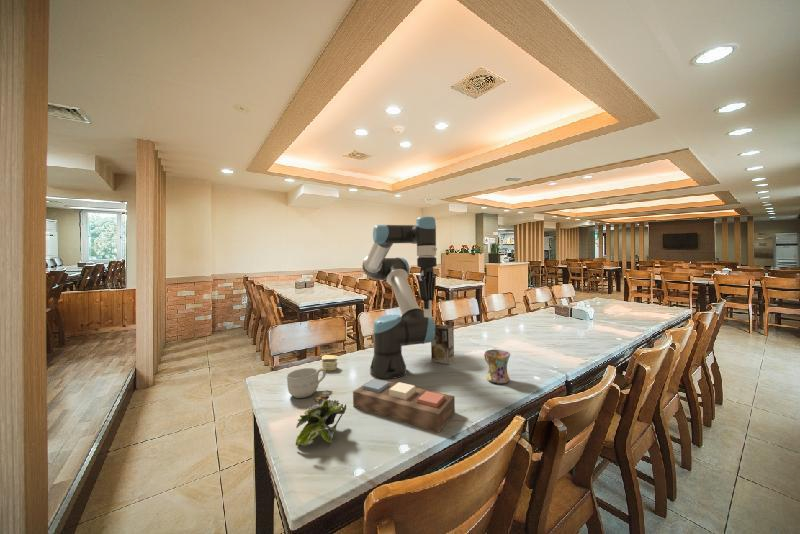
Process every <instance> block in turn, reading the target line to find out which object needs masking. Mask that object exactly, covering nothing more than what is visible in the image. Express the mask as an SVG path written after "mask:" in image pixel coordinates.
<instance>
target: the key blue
mask: <svg viewBox="0 0 800 534" xmlns="http://www.w3.org/2000/svg"><path fill="white" fill-rule="evenodd" d="M373 379H374V378H373ZM373 379H371V380H372V381H371V380H370V382H369V381H368V382H369V383H368V382H366V383H367V384H366V383H364V384H365V385H364V384H363V385H364V390H367V391H371V392H375V393H380V392H382V391H383V390H385V389H386V388H387V387H389V382H390V381H389V382H385V381H386V380H385V381H380V380H381V379H380V380H376V379H377V378H376V379H374V380H373Z"/></svg>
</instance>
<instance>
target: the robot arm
mask: <svg viewBox="0 0 800 534" xmlns="http://www.w3.org/2000/svg"><path fill="white" fill-rule="evenodd" d="M415 222H416V223H415V225H413V224H376V225H374V227H373V230H372V239H373V244H372V246H371V247H370V248H371V249H370V251H369V253H368V255H367V256H366V257H365V258H364V259H363V262H362V264H361V266H362V267H361V268H362V271H363V273H364V274H365V275H366V276H367V277H368V278H370V279H371V280H375V281H386V283H387V284H388V285H389V286H391V288H392V291H393V294H394V296H395V299H396V302H397V304H398V307H399V310H400V313H401V315H399V314H388V315H387V314H386V315H384V316H380V317H377V318H376V319H375V320H374V321H373V327H372V333H373V356H372V361H371V365H370V367H369V374H370V375H371V376H372V377H373V378H376V379H380V380H390V379H391V380H393V379H397V378H401V377H403V376H404V375H405V374H406V373H407V365H406V362H405V359H404V356H403V352H402V351H403V348H402V347H404V346H405V347H406V346H412V345H413V346H414V345H425V344H428V343H431V341H432V340H433V338H434V335H435V325H436V322H435V319H434V317H433V311H432V310H433V308H432V307H433V303H432V302H433V301H434V300H435V292H436V279H437V273H434V268H436V267H437V266H438V265H437V257H436V256H437V250H438V247H437V225H436V219H435V217H434V216H420V217H417V219H416V221H415ZM393 244H413V245H414V244H415V245H416V256H417V258H416V261H417V262H416V263H417V264H416V266H417V267H418V268H420V270H419V275H417V276H416V278H417V281H418V290H419V294H420V295H419V297H420V301H423V309H422V308H420V306H419V303H418V302H417V300H416V297H415V294H414V293H413V290H412V288H411V286H410V283H409V281H408V279H409V277H410V265H409V262H408V260H407V259H406V258H404V257H387V255H388V253H389V252H390V249H391V248H392V246H393Z"/></svg>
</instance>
